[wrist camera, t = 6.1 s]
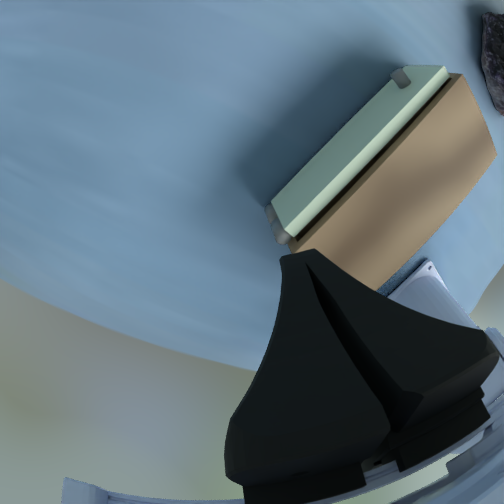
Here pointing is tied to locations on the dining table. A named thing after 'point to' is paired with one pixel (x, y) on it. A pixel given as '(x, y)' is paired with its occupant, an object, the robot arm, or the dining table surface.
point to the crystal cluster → (494, 57)
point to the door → (352, 148)
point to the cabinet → (404, 188)
